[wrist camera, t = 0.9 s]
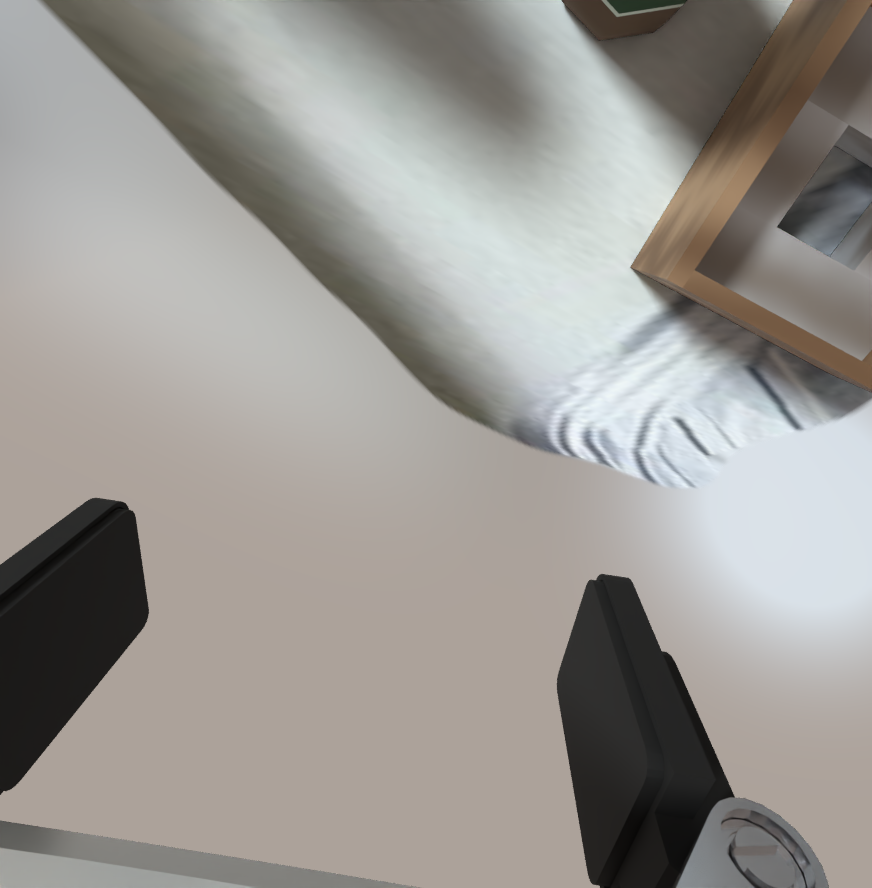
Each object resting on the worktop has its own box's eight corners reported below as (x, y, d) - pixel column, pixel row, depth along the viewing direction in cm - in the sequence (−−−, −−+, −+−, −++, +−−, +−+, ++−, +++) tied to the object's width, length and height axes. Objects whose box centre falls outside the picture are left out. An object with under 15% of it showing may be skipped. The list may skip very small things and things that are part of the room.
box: (805, -20, 27) (907, -93, 21) (1036, 128, 29) (1195, 103, 22) (630, 267, 33) (666, 279, 27) (828, 373, 35) (906, 408, 29)
